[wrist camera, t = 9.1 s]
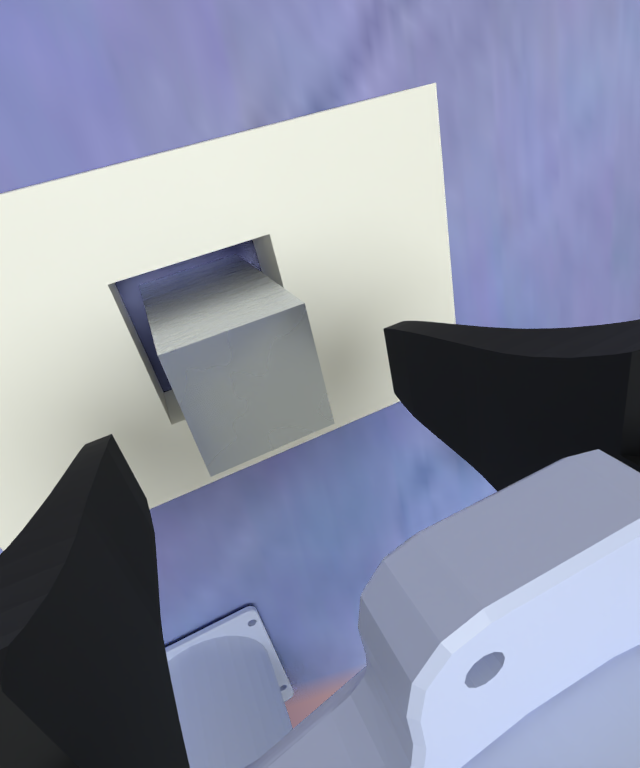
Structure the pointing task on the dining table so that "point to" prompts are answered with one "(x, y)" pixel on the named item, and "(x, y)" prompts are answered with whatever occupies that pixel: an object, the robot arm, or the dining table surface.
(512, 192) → the dining table surface
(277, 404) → the square steel peg
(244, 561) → the dining table surface
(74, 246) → the cream socket block
